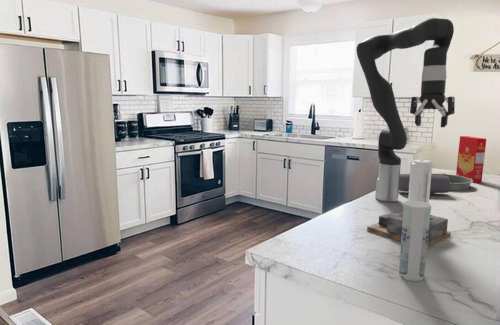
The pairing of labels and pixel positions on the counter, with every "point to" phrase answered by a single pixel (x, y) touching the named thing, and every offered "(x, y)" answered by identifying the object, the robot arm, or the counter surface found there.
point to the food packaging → (471, 158)
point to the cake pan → (458, 182)
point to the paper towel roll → (420, 181)
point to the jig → (393, 228)
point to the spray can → (414, 239)
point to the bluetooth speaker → (437, 185)
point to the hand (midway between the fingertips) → (430, 126)
